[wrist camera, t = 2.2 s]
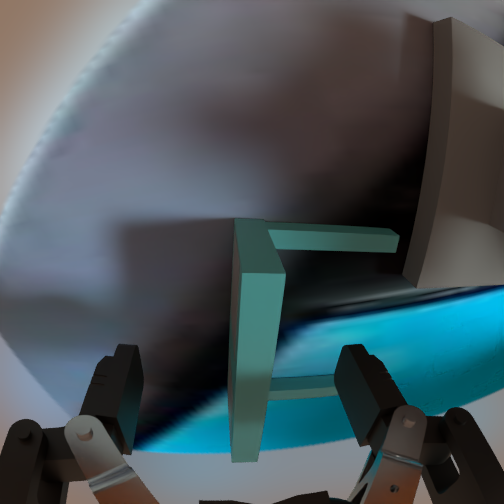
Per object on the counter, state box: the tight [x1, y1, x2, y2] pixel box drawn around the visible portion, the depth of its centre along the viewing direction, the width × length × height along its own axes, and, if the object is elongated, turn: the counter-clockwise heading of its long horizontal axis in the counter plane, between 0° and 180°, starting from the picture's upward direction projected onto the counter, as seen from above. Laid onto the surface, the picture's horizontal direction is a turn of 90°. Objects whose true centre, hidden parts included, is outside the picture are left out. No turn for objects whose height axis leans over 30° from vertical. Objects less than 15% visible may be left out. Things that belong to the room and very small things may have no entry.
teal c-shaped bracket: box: [228, 218, 400, 462], centre depth 13 cm, size 7×10×5 cm
